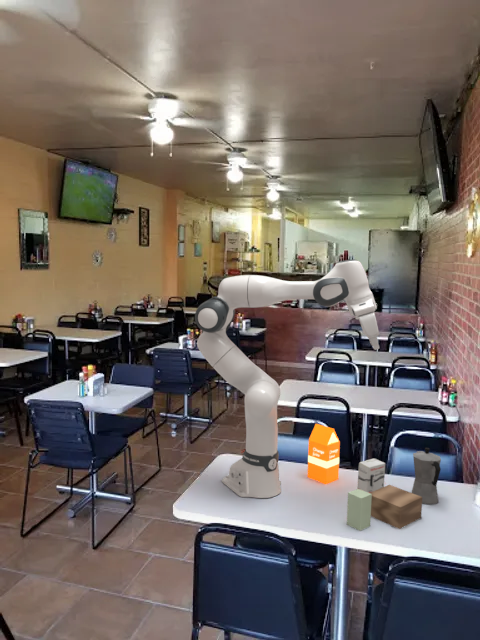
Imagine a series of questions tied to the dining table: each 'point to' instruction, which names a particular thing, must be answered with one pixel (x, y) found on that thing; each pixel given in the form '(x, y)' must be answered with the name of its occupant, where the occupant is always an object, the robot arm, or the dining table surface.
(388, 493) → the walnut block
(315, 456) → the orange juice
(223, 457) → the dining table surface
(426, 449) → the coffeepot
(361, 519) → the sage block
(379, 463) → the ink box
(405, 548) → the dining table surface
